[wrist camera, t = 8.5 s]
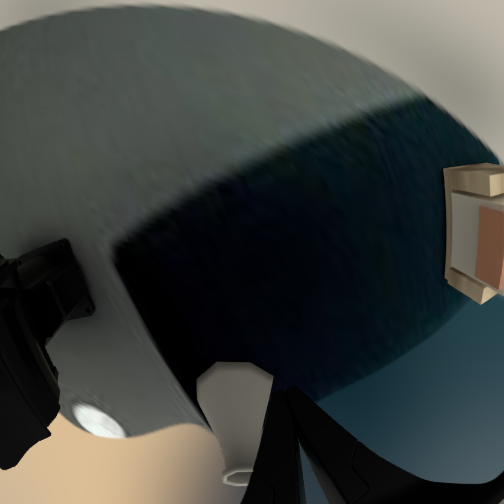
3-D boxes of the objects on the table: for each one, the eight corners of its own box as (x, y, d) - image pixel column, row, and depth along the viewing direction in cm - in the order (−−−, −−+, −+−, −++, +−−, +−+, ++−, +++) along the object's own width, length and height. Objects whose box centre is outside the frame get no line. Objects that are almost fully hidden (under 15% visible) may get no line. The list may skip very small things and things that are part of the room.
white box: (448, 267, 21) (516, 307, 12) (448, 193, 18) (530, 215, 10) (478, 252, 21) (540, 284, 12) (479, 186, 19) (551, 204, 10)
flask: (210, 349, 22) (210, 450, 12) (286, 369, 23) (316, 459, 14) (185, 400, 23) (180, 487, 14) (253, 415, 25) (267, 496, 15)
